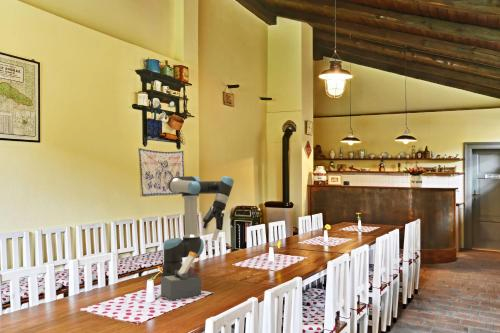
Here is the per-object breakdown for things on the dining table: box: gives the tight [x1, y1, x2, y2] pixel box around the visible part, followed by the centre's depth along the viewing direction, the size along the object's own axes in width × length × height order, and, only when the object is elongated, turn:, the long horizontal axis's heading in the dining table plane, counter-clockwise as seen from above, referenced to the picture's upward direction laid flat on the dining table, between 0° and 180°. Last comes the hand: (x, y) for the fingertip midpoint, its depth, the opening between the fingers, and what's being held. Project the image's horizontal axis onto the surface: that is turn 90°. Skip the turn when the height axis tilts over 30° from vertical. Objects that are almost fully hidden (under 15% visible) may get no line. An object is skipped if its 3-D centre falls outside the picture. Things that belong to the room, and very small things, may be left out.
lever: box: [177, 251, 198, 277], centre depth 248 cm, size 7×2×14 cm
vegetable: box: [187, 266, 198, 276], centre depth 267 cm, size 10×10×15 cm
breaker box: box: [160, 270, 202, 301], centre depth 246 cm, size 13×18×13 cm
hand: (208, 237), depth 255 cm, fingers open, 13 cm apart
